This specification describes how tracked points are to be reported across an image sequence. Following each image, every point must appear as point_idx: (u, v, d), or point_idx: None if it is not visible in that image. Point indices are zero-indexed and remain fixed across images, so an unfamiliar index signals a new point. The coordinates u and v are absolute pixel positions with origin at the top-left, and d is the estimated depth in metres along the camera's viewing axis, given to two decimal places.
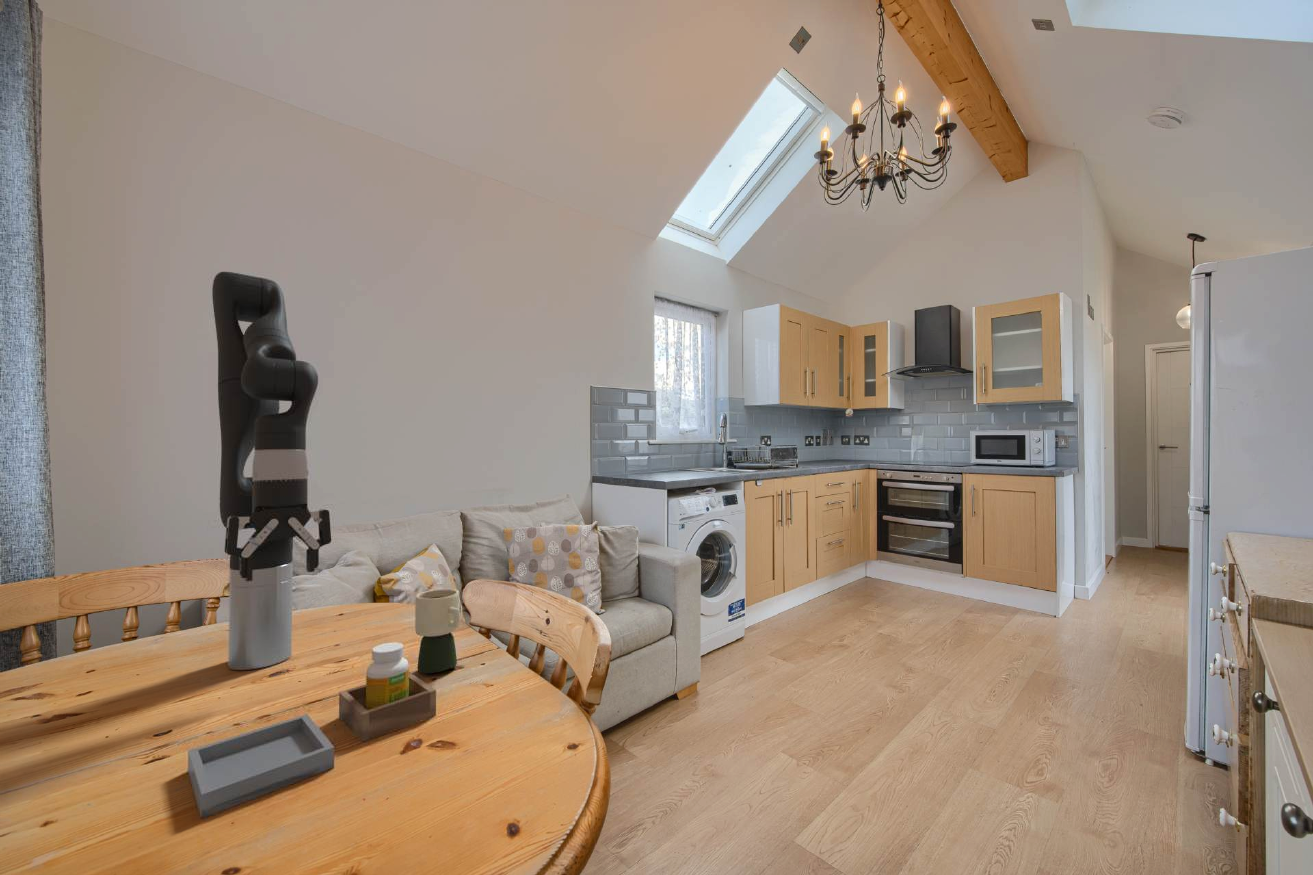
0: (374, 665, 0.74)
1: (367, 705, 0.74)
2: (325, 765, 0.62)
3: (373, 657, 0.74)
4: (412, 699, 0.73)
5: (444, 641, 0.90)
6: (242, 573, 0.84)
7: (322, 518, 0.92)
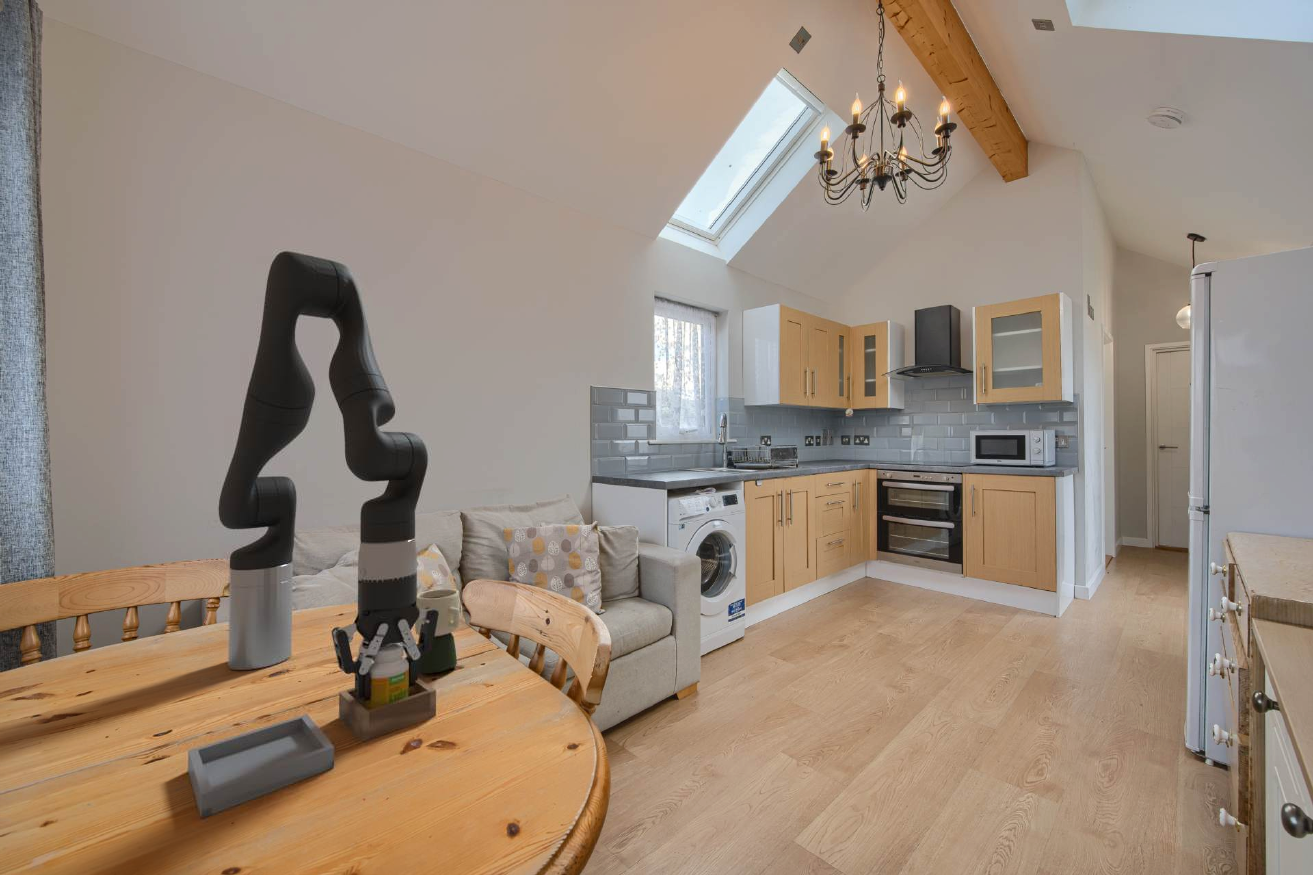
0: (374, 665, 0.74)
1: (367, 705, 0.74)
2: (325, 765, 0.62)
3: None
4: (412, 699, 0.73)
5: (444, 641, 0.90)
6: (359, 692, 0.72)
7: (430, 620, 0.79)
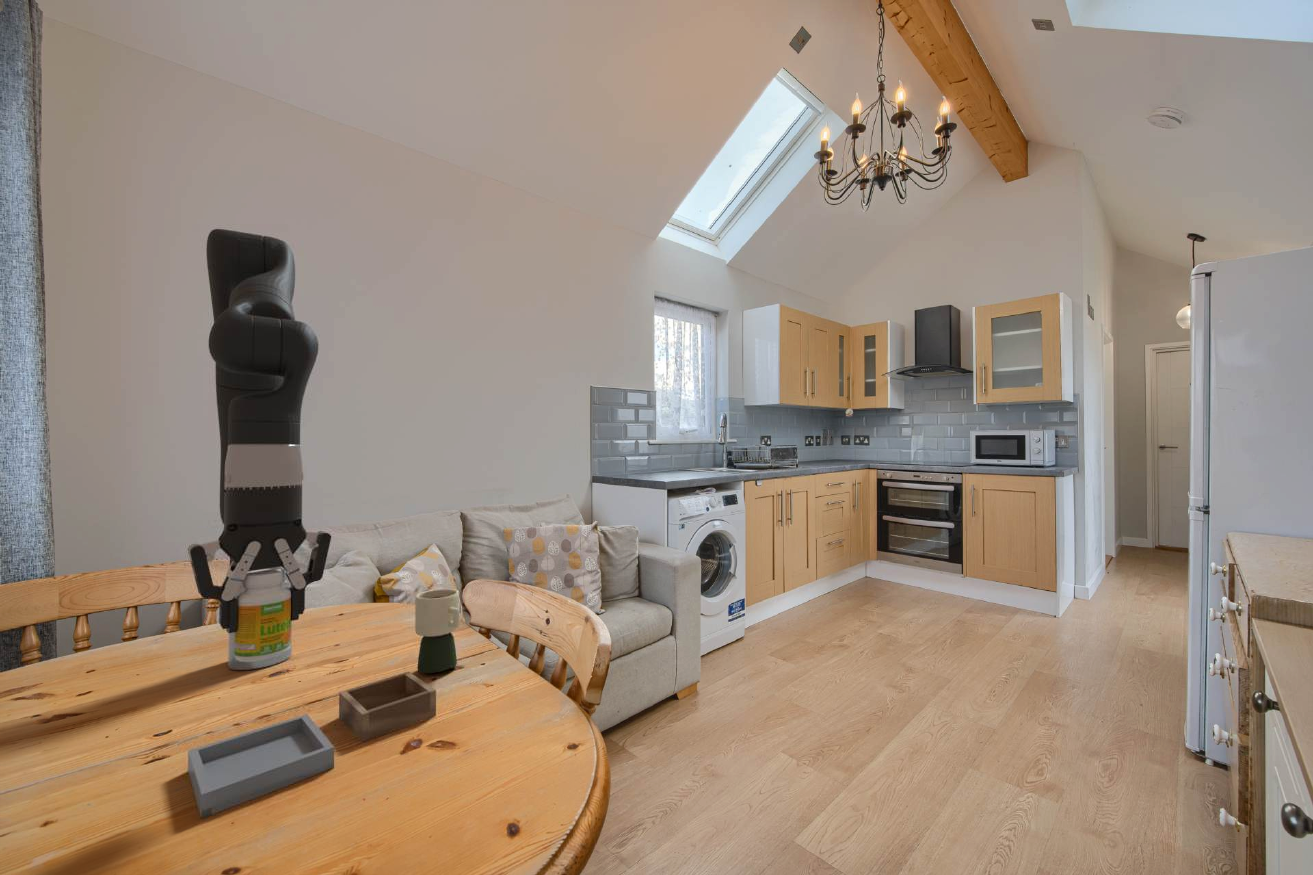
0: (245, 592, 0.62)
1: (235, 639, 0.62)
2: (325, 765, 0.62)
3: (243, 582, 0.62)
4: (412, 699, 0.73)
5: (444, 641, 0.90)
6: (222, 622, 0.60)
7: (319, 544, 0.67)
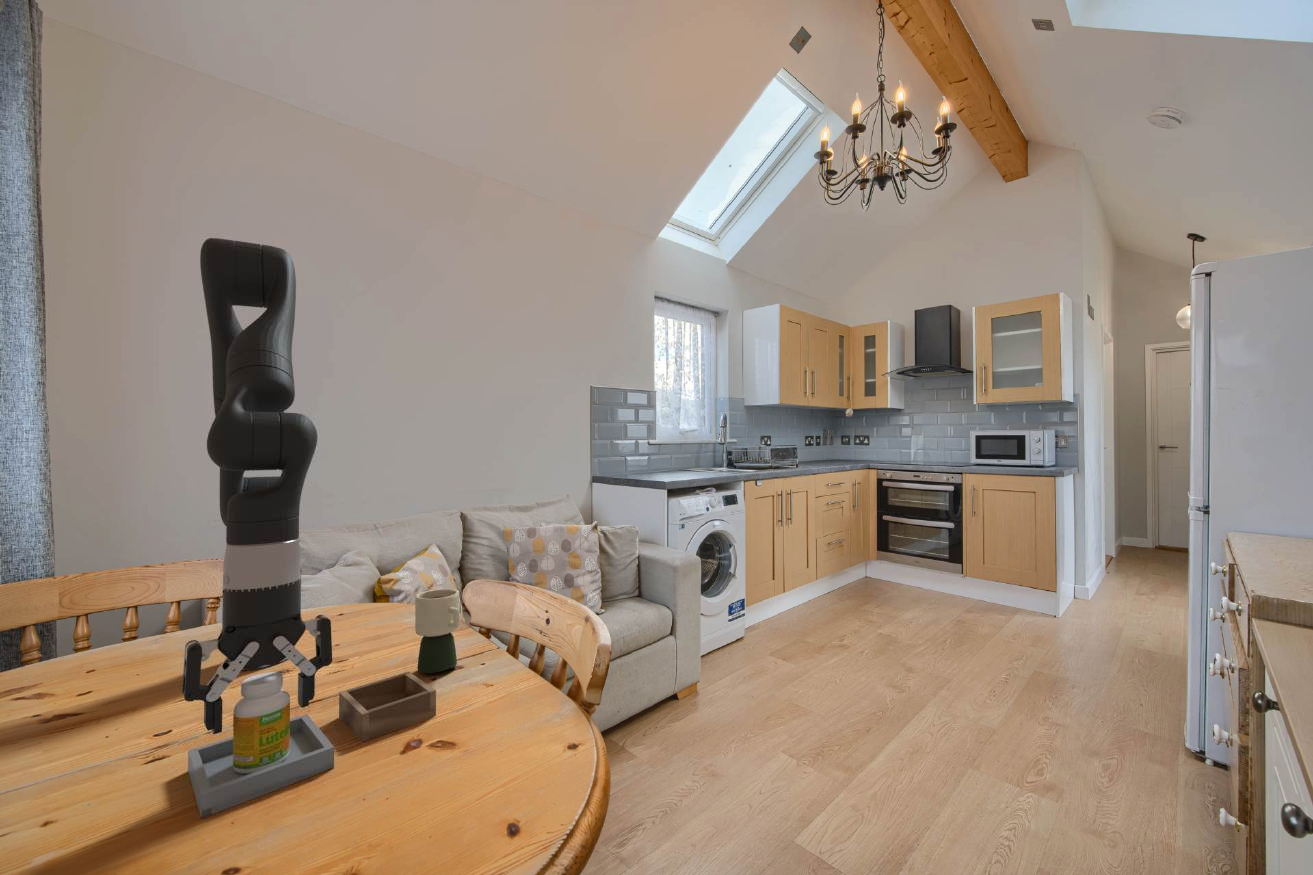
0: (243, 701, 0.62)
1: (233, 750, 0.61)
2: (325, 765, 0.62)
3: (241, 691, 0.62)
4: (412, 699, 0.73)
5: (444, 641, 0.90)
6: (207, 723, 0.59)
7: (321, 631, 0.67)
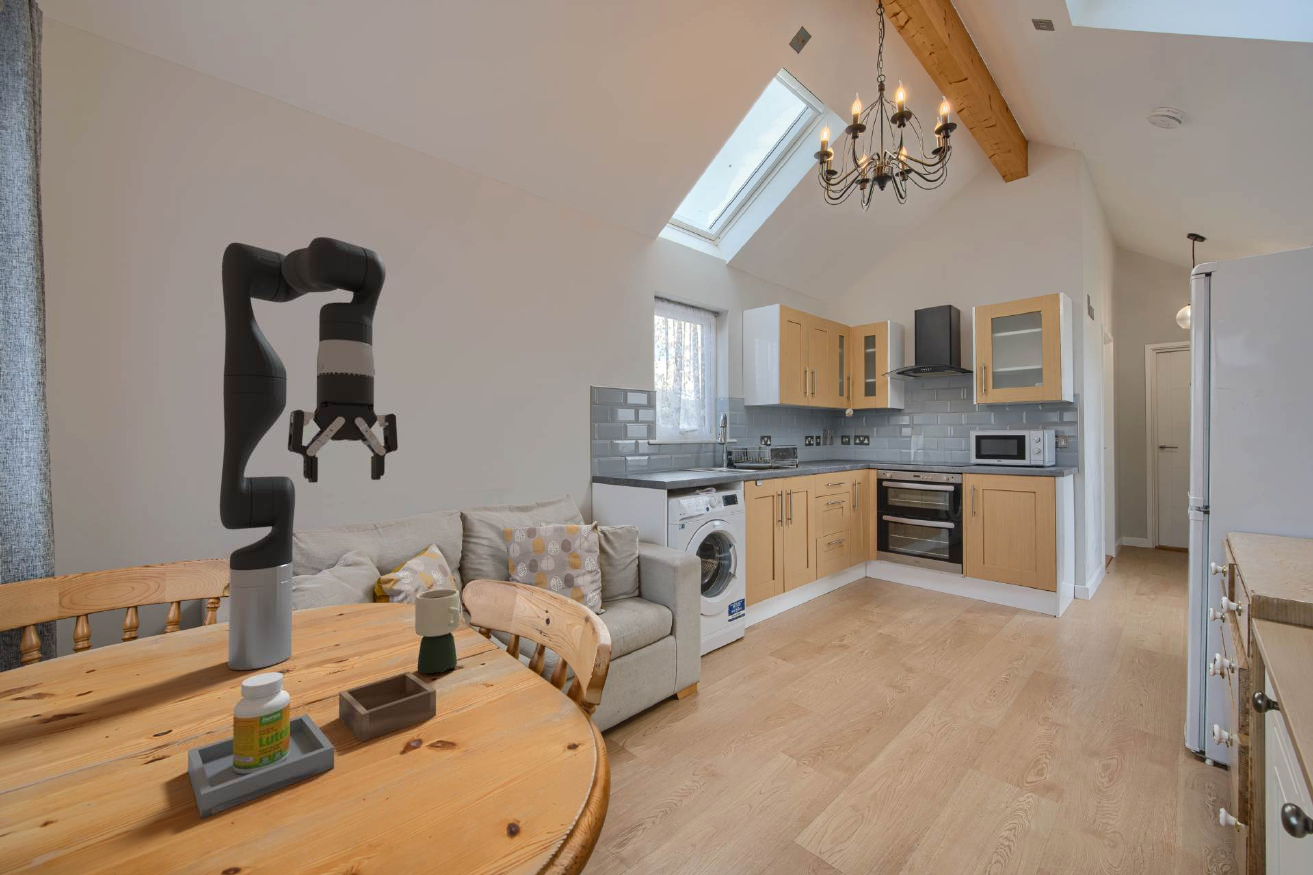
0: (243, 701, 0.62)
1: (233, 750, 0.61)
2: (325, 765, 0.62)
3: (242, 692, 0.62)
4: (412, 699, 0.73)
5: (444, 641, 0.90)
6: (307, 473, 0.76)
7: (389, 422, 0.84)
